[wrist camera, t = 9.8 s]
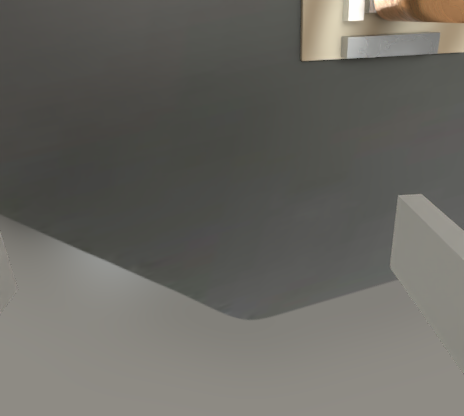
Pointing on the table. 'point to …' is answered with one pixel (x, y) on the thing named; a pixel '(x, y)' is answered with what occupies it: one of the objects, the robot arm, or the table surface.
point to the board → (361, 30)
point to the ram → (418, 10)
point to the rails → (383, 39)
